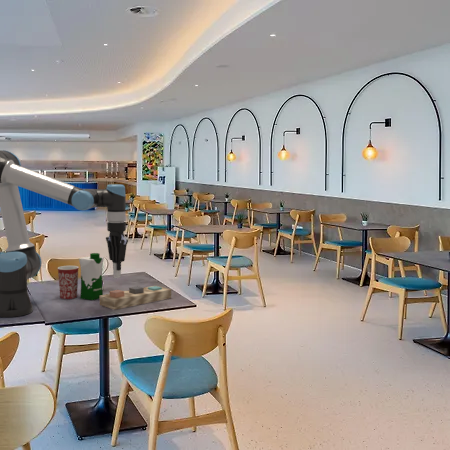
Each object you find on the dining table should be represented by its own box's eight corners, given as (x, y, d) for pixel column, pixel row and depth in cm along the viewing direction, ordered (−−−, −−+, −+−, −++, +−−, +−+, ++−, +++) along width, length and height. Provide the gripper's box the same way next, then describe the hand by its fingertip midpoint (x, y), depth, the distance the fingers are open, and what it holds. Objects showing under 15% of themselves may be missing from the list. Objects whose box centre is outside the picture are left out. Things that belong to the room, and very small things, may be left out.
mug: (72, 300, 241) (72, 269, 239) (54, 298, 243) (53, 268, 241) (86, 293, 253) (86, 264, 252) (68, 292, 255) (68, 263, 254)
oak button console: (114, 309, 226) (114, 300, 226) (99, 304, 234) (99, 295, 233) (171, 298, 247) (171, 289, 247) (156, 293, 255) (156, 285, 254)
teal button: (153, 295, 244) (153, 288, 244) (147, 293, 247) (147, 287, 247) (161, 294, 247) (161, 287, 247) (155, 292, 250) (155, 285, 250)
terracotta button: (115, 300, 230) (115, 292, 230) (109, 298, 233) (109, 291, 233) (124, 298, 233) (124, 291, 233) (118, 296, 236) (118, 289, 236)
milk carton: (92, 301, 240) (92, 255, 237) (76, 298, 244) (76, 253, 242) (106, 297, 247) (105, 252, 245) (90, 294, 252) (90, 251, 249)
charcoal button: (135, 296, 237) (135, 289, 237) (129, 294, 240) (129, 287, 240) (143, 294, 240) (143, 287, 240) (137, 293, 243) (137, 286, 243)
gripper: (133, 222, 228) (133, 278, 230) (115, 219, 237) (115, 274, 239) (117, 223, 222) (118, 281, 225) (100, 221, 232) (100, 276, 234)
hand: (117, 277), depth 232 cm, fingers closed
